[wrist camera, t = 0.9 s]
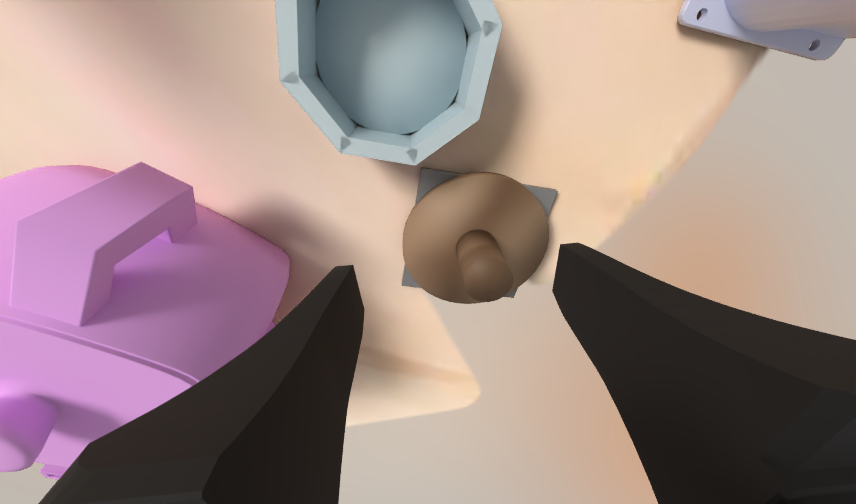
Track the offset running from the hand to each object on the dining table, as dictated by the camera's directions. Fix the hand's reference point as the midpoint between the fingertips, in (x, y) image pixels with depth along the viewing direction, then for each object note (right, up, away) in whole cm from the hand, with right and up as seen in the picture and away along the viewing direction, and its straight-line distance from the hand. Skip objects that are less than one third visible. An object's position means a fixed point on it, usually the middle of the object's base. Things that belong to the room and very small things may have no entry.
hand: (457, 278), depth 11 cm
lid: (+2, +2, +11) cm, 11 cm away
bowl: (-3, +11, +5) cm, 13 cm away
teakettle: (-20, -1, +11) cm, 23 cm away
